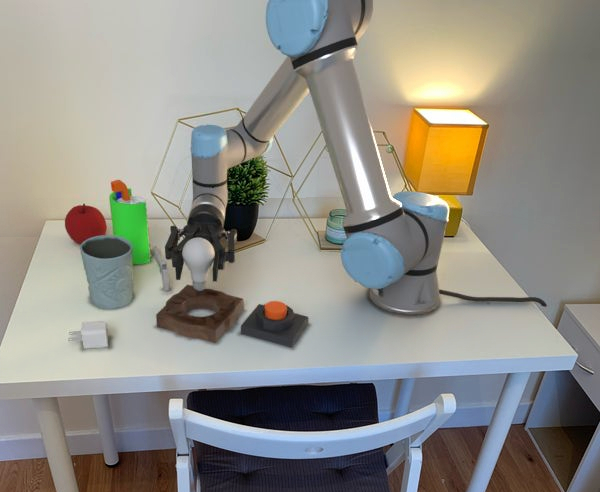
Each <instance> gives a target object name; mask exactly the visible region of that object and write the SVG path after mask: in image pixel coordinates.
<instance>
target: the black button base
mask: <svg viewBox="0 0 600 492" xmlns="http://www.w3.org/2000/svg"><path fill="white" fill-rule="evenodd" d="M266 304H267V303H264V304H260V303H258V305H257V306H256V307H255V308H254V309H253V310H252V312H251V313H250V314H249V315H248V316H247V318H246V319H245V320H244V322H243V323H242V324H241V325H240V334H241V335H243V336H247V337H249V338H255V339H258V340H261V341H266V342H269V343H273V344H277V345H280V346H284V347H287V348H293V347H294V346H295V345H296V343H297V341H298V340H299V338H300V337H301V336H302V334H303V333H304V331H305V330H306V329H307V327H308V325H309V316H307V315H303V314H299V313H295V312H294V309H293V308H292V307H290V306H289V305H287V304H285V305H286V306H287V315H286V317H285V318H283V319H280V320H273V319H269V318H267V317H266V316H265V314H264V312H265V305H266Z"/></svg>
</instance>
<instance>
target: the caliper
mask: <svg viewBox="0 0 600 492" xmlns="http://www.w3.org/2000/svg"><path fill="white" fill-rule="evenodd" d="M151 250H152V253H153V256H154V258H155V261H156V263H157V266H158V268H159V273H160V275H161V281H162V287H163V290H164V292H169V291H170V280H169V271H168V266H167V261H165V260H164V259H163V257H162V255H161V252H160V251H159V248H158V246H157V245H153V246H151Z"/></svg>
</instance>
